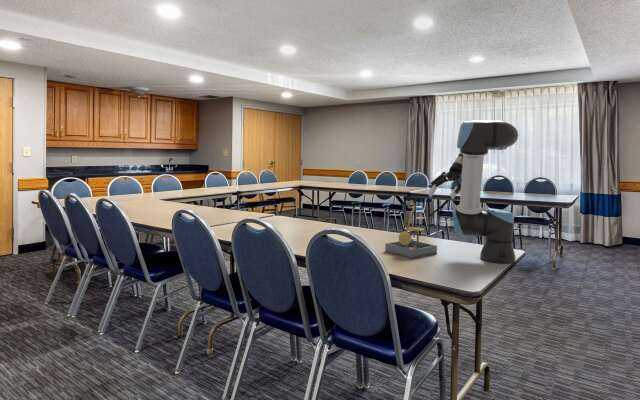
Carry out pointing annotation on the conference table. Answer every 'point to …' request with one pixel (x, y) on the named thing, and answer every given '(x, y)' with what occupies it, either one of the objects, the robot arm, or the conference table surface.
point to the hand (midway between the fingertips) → (440, 196)
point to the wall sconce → (405, 236)
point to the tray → (419, 251)
